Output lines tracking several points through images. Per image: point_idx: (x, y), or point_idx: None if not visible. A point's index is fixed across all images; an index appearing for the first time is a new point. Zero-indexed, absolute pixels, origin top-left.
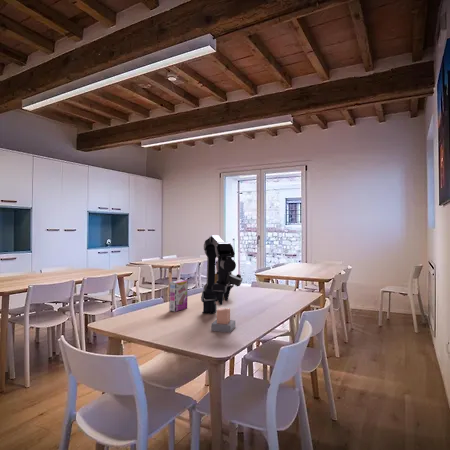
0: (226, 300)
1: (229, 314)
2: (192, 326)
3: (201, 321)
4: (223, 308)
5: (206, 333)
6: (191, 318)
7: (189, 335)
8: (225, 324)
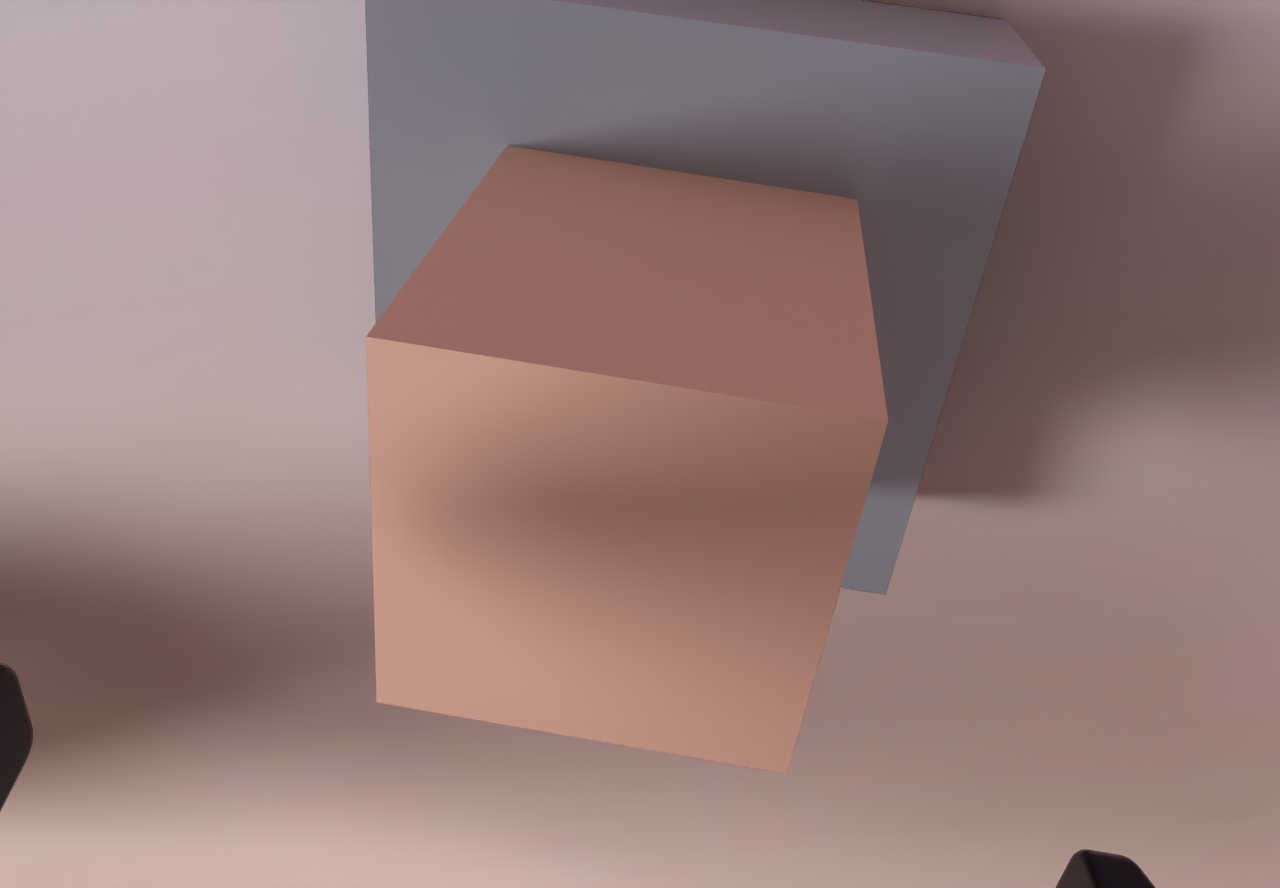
0: (13, 718)
1: (540, 250)
2: (623, 811)
3: (268, 718)
4: (473, 588)
5: (1075, 563)
6: (158, 861)
7: (1187, 803)
8: (909, 247)
